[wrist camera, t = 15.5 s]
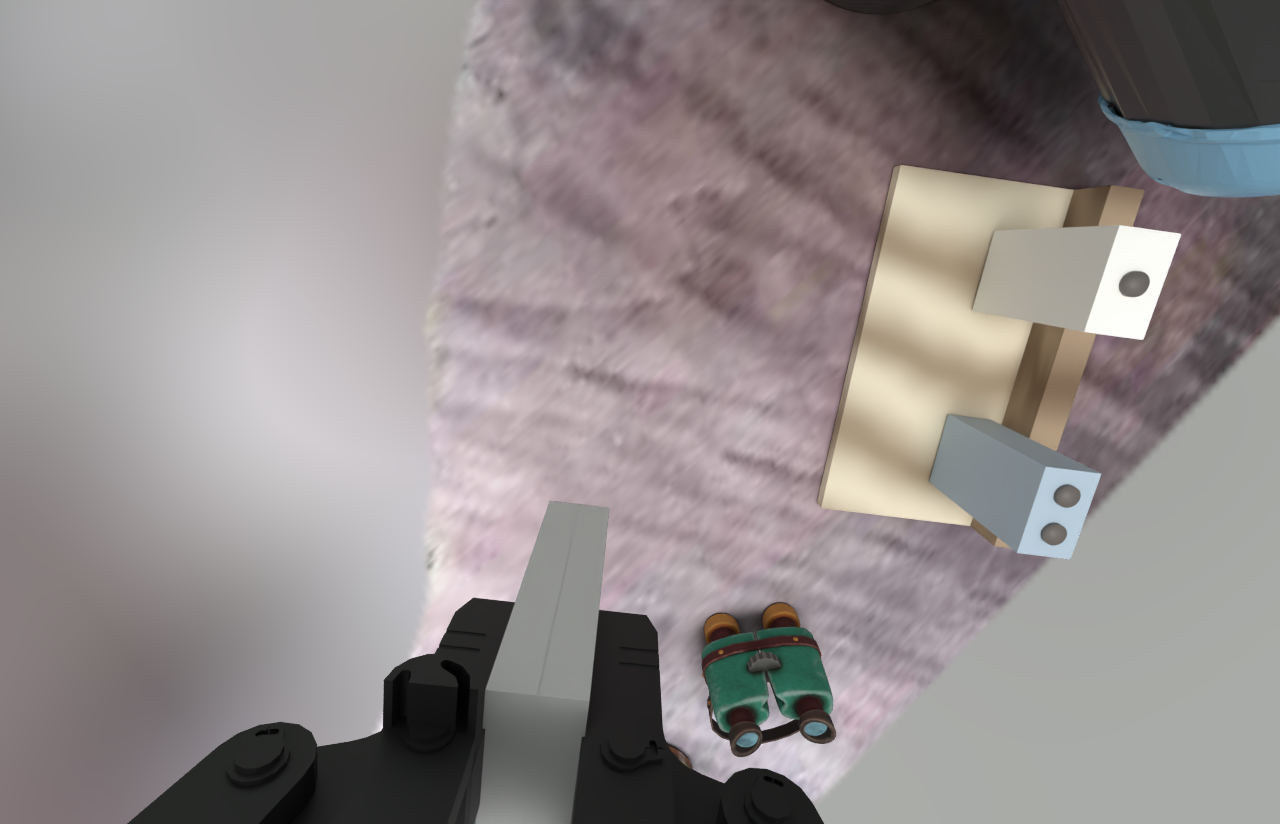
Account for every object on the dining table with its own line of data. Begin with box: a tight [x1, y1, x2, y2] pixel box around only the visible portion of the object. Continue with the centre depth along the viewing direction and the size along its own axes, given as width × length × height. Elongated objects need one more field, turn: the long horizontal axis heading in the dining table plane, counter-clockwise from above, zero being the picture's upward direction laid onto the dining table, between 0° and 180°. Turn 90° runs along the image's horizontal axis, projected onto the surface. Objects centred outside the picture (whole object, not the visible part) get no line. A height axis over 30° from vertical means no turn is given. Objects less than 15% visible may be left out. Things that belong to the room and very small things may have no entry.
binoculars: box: [702, 603, 836, 757], centre depth 42 cm, size 9×11×10 cm
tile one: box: [972, 225, 1181, 340], centre depth 33 cm, size 5×3×10 cm, turn 172°
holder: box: [817, 165, 1145, 548], centre depth 39 cm, size 23×13×4 cm, turn 172°
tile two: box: [929, 414, 1101, 559], centre depth 36 cm, size 5×3×10 cm, turn 172°
